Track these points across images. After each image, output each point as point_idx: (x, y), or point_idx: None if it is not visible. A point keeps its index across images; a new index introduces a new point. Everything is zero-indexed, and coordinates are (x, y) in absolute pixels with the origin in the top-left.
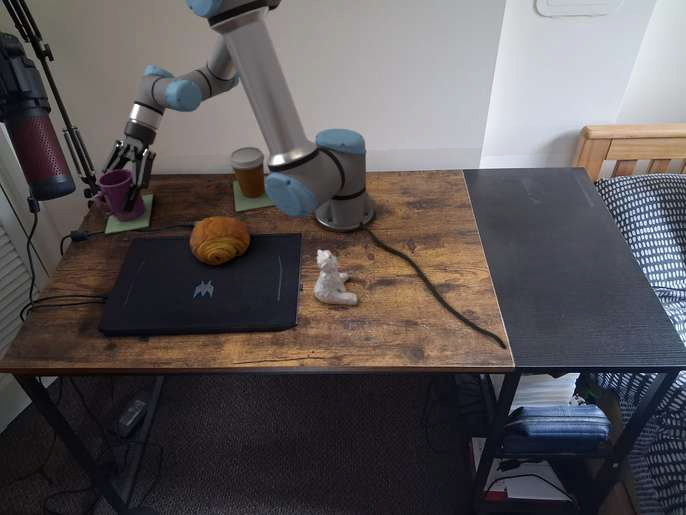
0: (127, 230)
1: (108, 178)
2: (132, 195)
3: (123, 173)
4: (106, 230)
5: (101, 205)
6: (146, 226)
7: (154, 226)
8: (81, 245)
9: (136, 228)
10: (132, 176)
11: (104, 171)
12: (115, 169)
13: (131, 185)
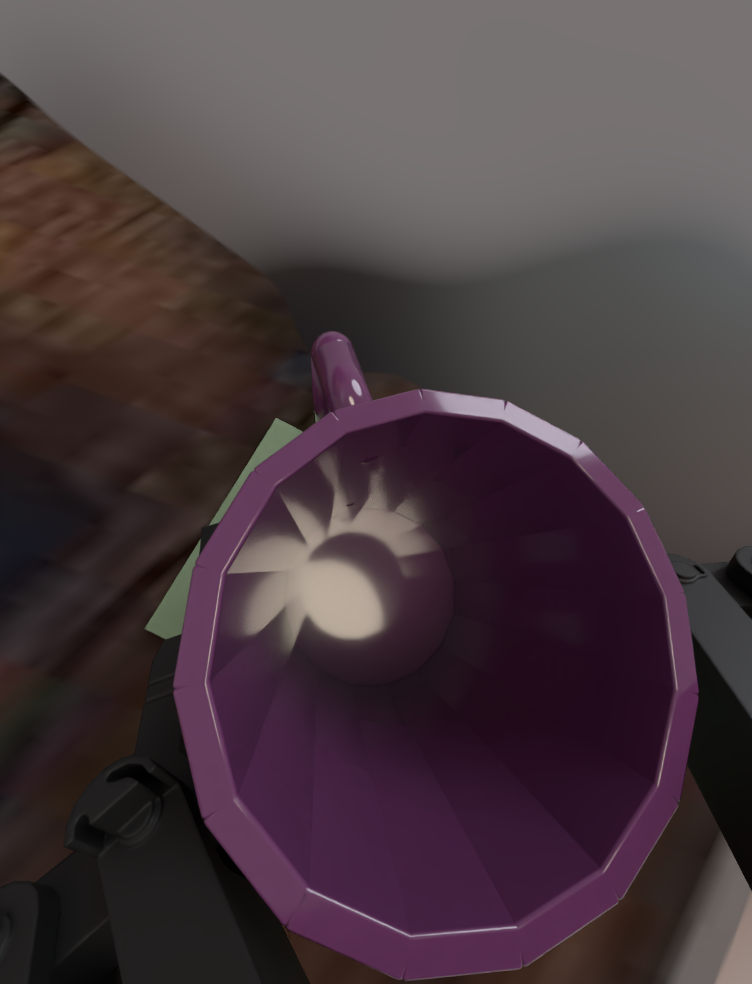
0: (215, 517)
1: (591, 566)
2: (171, 678)
3: (587, 777)
4: (293, 433)
5: (315, 405)
6: (151, 618)
7: (127, 661)
8: (276, 317)
9: (187, 563)
10: (244, 961)
11: (748, 575)
12: (715, 719)
13: (111, 785)
